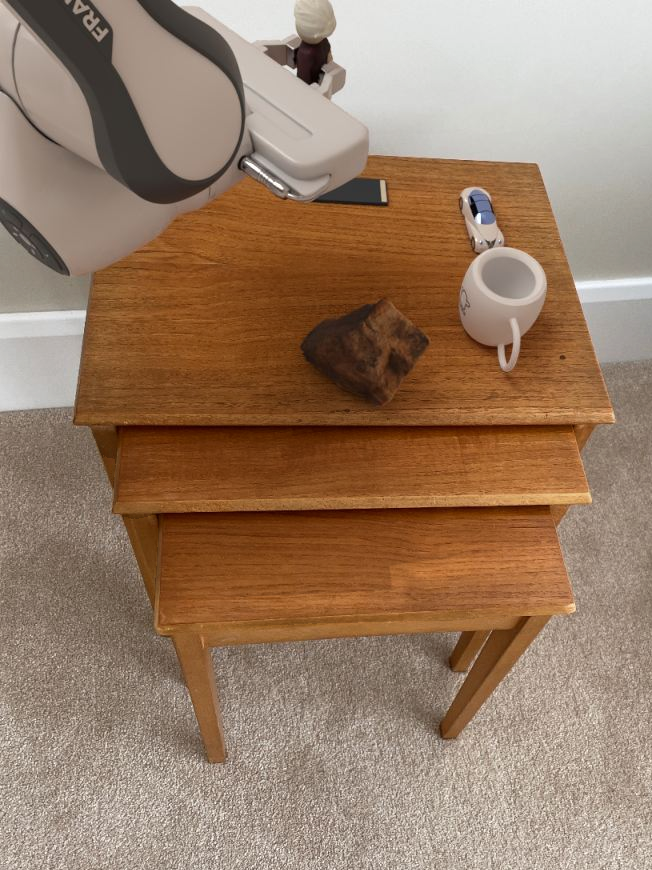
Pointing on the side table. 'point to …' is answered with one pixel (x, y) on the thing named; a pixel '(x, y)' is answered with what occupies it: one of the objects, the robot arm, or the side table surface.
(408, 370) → the decorative rock
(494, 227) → the toy car
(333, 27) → the grandmother figurine
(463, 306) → the mug
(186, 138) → the robot arm
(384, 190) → the black flat block
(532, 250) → the side table surface
